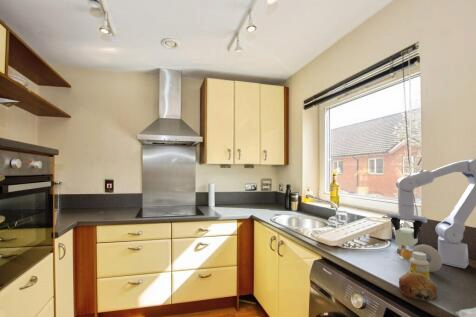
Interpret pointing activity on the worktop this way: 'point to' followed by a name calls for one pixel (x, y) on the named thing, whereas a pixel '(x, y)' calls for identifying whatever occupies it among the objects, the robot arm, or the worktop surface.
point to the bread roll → (417, 286)
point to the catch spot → (404, 258)
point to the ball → (406, 254)
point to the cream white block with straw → (402, 224)
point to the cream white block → (405, 237)
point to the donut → (434, 255)
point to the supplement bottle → (419, 264)
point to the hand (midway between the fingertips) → (406, 236)
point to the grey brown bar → (402, 249)
